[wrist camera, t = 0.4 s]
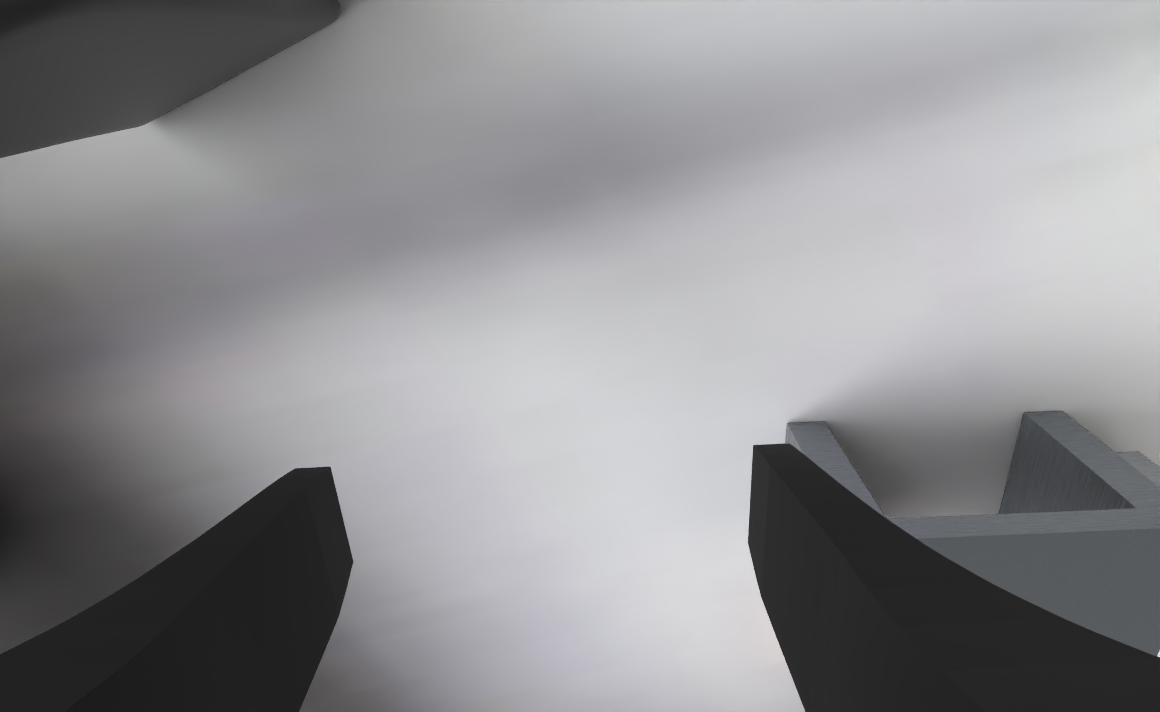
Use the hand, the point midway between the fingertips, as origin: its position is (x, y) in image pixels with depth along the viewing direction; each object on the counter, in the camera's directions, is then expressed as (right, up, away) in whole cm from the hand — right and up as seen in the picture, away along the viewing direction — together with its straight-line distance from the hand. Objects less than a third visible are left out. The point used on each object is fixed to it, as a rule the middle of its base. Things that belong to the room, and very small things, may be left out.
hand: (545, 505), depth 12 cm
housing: (+12, -2, +12) cm, 17 cm away
